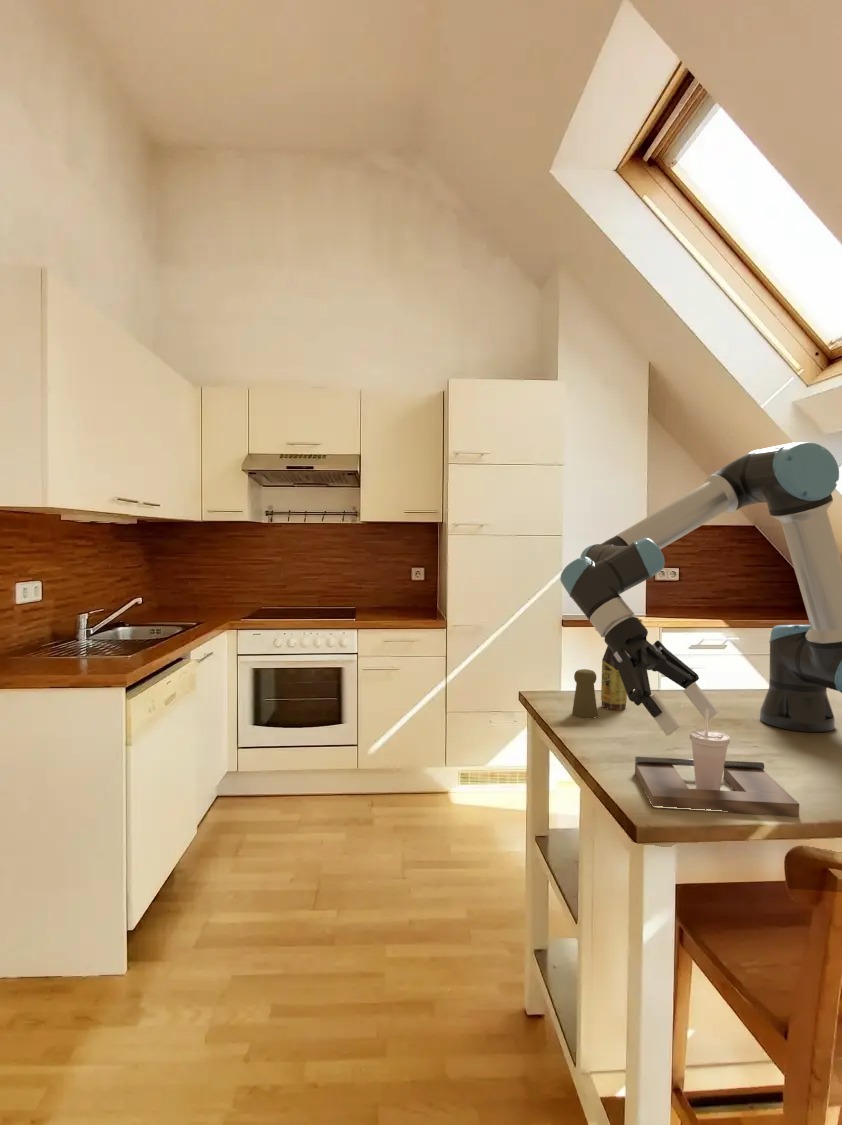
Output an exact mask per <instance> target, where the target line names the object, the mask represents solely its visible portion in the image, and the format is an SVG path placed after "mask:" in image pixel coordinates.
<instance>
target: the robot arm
mask: <svg viewBox="0 0 842 1125" xmlns="http://www.w3.org/2000/svg"><path fill="white" fill-rule="evenodd" d="M839 479H840V468H839V465H838V462H837V460H836V458H835V456H834V455H833V454H832V452H831V451H830V450H828V449H827V448H826V447H824V446H822V445H820V444H818V443H816V442H812V441H806V442H805V441H803V442H795V441H794V442H790V443H785V444H781V445H775V446H771V447H765V448H760V449H754V450H752V451H750V452H748V453H745V454H743V455H741V456H740V457H738V458H736V459H735V460H733V461H731V462H729V463H728V464H727V465H725V466H723V467H722V468H720V469H719V470H717V471H715V472H713V473H712V474H710V475H708V476H707V477H706V479H705V482H704V483H703V484H702V485H700V486H699V487H696V488H695V489H693V490H692V491H689V492H688V493H686V494H684V495H683V496H681V497H680V498H678V499H676V500H674V501H672V502H671V503H670V504H669V503H668V504H667V505H666V506H663V507H662V508H661V509H659V510H657V511H656V512H654V513H652V514H650V515H649V516H647V517H645V518H644V519H641V521H638V522H636V523H635V524H633V525H632V526H629V527H628V528H627V529H624V530H623V531H621V532H619V533H618V534H616V535H615V536H613V537H611V538H608V539H607V540H605V541H604V542H602V543H596V544H592V545H589V546H587V547H586V548H585V549H583V551H582V552H581V553H580V557H578V558H576V559H574V560H573V561H571V562H570V563H568V565H566V566H565V567H564V568H563V570H562V571H561V574H560V582H561V584H562V586H563V588H564V589H565V591H566V592H567V593H568V596H569V597H570V598H571V600H573V601H574V603H575V604H576V605H577V607H578V608H579V609H580V611H581V612H582V613H583V614H584V616H585V617H586V619H587V620H588V621H589V622H590V623H591V624H592V626H593V627H594V630H595V631H596V632H597V633H598V634H599V635H600V637H601V638H604V643H605V644H606V645H607V646H608V647H609V648H610V649H611V651H612V652H613V653H614V654H613V655H612V656H611V658H612V660H613V661H614V663H615V664H616V666H617V668H618V671H619V674H620V676H621V679H622V682H623V684H624V687H625V690H626V693H627V698H628V700H629V701H631V702H633V703H634V704H635V705H636V706H640V705H641V704H643V706H644V707H645V709H646V710H647V712H648V713H649V714H650V716H652V718H653V719H654V720H655V722H656V723H657V724H658V726H659V727H660V728H661V730H662V731H663V732H664V734H665V735H666V737H668V736H671V735H672V734H673V733H674V732H675V731H677V730H678V729H679V728H680V727H681V725H680V724H679V723H678V721H677V720H676V719H675V717H674V716H673V715H672V714H671V712H670V711H669V709H667V707H666V706H665V704H664V703H663V702H662V700H661V699H660V698H659V696H658V695H657V694H656V693H654V694H652V692H651V691H652V690H651V686H650V679H649V676H648V675H649V674H648V671H652V672H658V673H659V674H661V675H663V676H664V677H666V678H667V679H669V680H670V681H671V682H674V683H675V684H677V685H678V686H680V687H682V688H683V689H684V690H682V692H683V693H684V694H685V696H686V697H687V699H688V700H689V701H690V702H691V704H693V706H694V707H695V708H696V710H697V711H698V712H699V714H700V715H701V716H702V717H703V719H704V720H705V709H709V720H710V719H712V718H714V717H715V716H716V715H717V714H718V713H720V711H719V710H718V709H717V707H716V706H715V705H714V704H713V703H712V701H711V700H710V699H709V697H708V696H707V695H706V694H705V693H704V691H703V690H702V689H701V687H699V685H698V684H697V683H696V682H697V681H698V680H700V677H699V675H698V674H697V672H695V671H694V670H693V669H692V668H691V667H689V666H688V665H687V664H686V663H685V662H683V661H682V660H681V659H679V658H678V657H677V656H676V655H674V654H673V653H672V652H671V651H670V650H668V649H667V648H666V646H664V644H663V643H662V642H661V641H660V640H656V641H654V643H653V644H652V643H651V642H649V641H648V640H647V636H648V634H649V631H648V629H647V628H646V626H645V625H644V624H643V622H641V620H640V619H639V618H638V617H635V612H634V611H633V610H632V609H631V608H630V606H629V605H628V604H627V603H626V601H624V599H623V598H622V596H621V594H623V593H624V592H626V591H628V590H630V589H632V588H634V587H635V586H638V585H639V584H641V583H643V582H645V581H647V580H649V579H651V578H653V577H654V576H655V575H657V574H659V573H660V572H662V570H663V569H664V568H665V565H666V563H665V562H666V561H665V557H664V554H663V552H662V549H663V548H665V547H667V546H668V545H670V544H672V543H674V542H675V541H676V542H677V540H679V539H681V538H682V537H684V536H686V535H687V534H689V533H690V532H693V531H694V530H696V529H698V528H700V527H701V526H703V525H704V524H706V523H708V522H709V521H711V520H713V519H715V518H717V517H718V516H720V515H721V514H724V513H726V514H733V513H734V512H736V511H738V510H739V509H742V508H744V507H746V506H750V505H755V504H762V503H763V504H764V503H766V505H767V509H768V512H769V515H770V517H771V518H773V519H775V520H777V521H779V523H781V527H782V531H783V534H784V537H785V541H786V545H787V548H788V551H789V554H790V558H791V561H792V562H791V563H792V566H793V569H794V574H795V576H796V579H797V583H798V585H799V590H800V593H801V597H802V601H803V604H804V607H805V611H806V614H807V618H808V621H809V624H779V625H775V626H773V627H772V628H771V630H770V639H769V642H768V643H769V683H768V690H767V692H766V694H765V697H764V700H763V702H762V704H761V706H760V709H759V711H760V712H759V720H760V721H762V722H763V723H764V724H767V725H770V726H772V727H775V728H779V729H783V730H789V731H797V732H803V733H804V732H807V733H823V732H830V731H833V730H834V729H835V723H836V722H835V720H836V719H835V716H834V713H833V709H832V706H831V704H830V700H829V697H828V693H827V692H828V691H827V689H830V690H834V691H836V692H839V693H841V694H842V559H841V556H840V552H839V549H838V545H837V543H836V538H835V534H834V530H833V528H832V524H831V521H830V517H829V513H828V510H829V507H830V506H831V505H832V504H833V502H834V499H833V495H832V493H833V492H834V491H835V490H836V487H837V486H838V485H837V482H838V481H839Z"/></svg>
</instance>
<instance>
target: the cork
mask: <svg viewBox="0 0 842 1125" xmlns="http://www.w3.org/2000/svg"><path fill="white" fill-rule="evenodd" d="M573 676H574V677H573V678H574V682H575V683H576V684H575V691H574V698H573V706H572V712H571V715H572V716H573V717H575V718H578V717H579V719H587V718H590V719H595V718H594V717H596V716H597V715H598V707H597V698H596V692H595V689H596V688H595V683H596V682H597V674H596V672H595V671H594V670H591V669H585V668H584V669H583V668H582V669H577V670H576V671H575V672H574V675H573ZM597 717H598V716H597ZM597 717H596V718H597Z"/></svg>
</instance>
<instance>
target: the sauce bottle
mask: <svg viewBox="0 0 842 1125" xmlns="http://www.w3.org/2000/svg"><path fill="white" fill-rule="evenodd" d="M613 654H614V653H613V652H612V651H611V649H610V648H609V647H608V645H607V647H606V649H605V652H604V655H603V657H602V660H601V688H600V689H601V691H600V692H601V693H600V694H601V695H600V700H601V706H603V707H602V708H604V707H605V708H604V709H607V708H608V709H607V710H612V709H615V710H614V711H616V709H622V710H625V709H626V707H627V705H626V704H627V702H628V700H627V698H628V695H627V693H626V690H625V687H624V684H623V682H622V679H621V676H620V674H619V671H618V668H617V666H616V664H615V663H614V661H613V660H612V658H611V656H612V655H613Z"/></svg>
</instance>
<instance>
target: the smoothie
mask: <svg viewBox="0 0 842 1125" xmlns="http://www.w3.org/2000/svg"><path fill="white" fill-rule="evenodd" d="M709 720H710V719H709V709H705V719H704V729H693V730H692V731H690V733H689V739H690V741H691V747H692V748H691V749H692V759H693V761H694V766H693V768H694V769H693V770H694V781H695V789H702V790H721V786H722V780H723V776H724V764H725V761H726V759H727V752H728V751H727V750H728V746H729V745H730V744H731V738H730V736H729V735H728V734H727V733H724V732H720V731H716V730H711V729H709Z"/></svg>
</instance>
